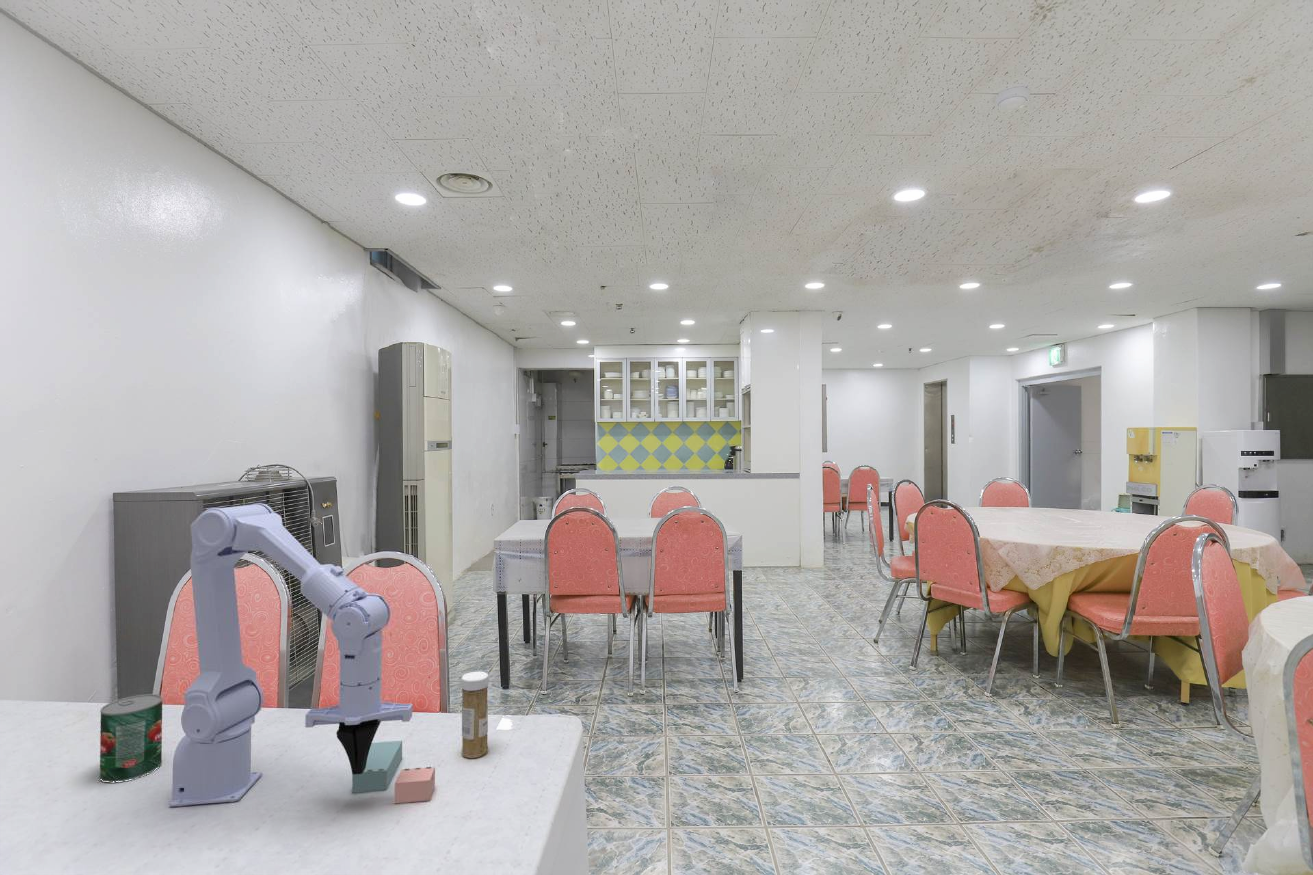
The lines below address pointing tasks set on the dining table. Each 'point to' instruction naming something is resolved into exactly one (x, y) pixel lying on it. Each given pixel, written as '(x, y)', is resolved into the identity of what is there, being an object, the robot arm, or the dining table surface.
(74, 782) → the dining table surface
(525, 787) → the dining table surface
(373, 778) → the teal elongated prism
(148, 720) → the canned tomato
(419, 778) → the stub
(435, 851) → the dining table surface
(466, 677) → the sprinkles bottle
